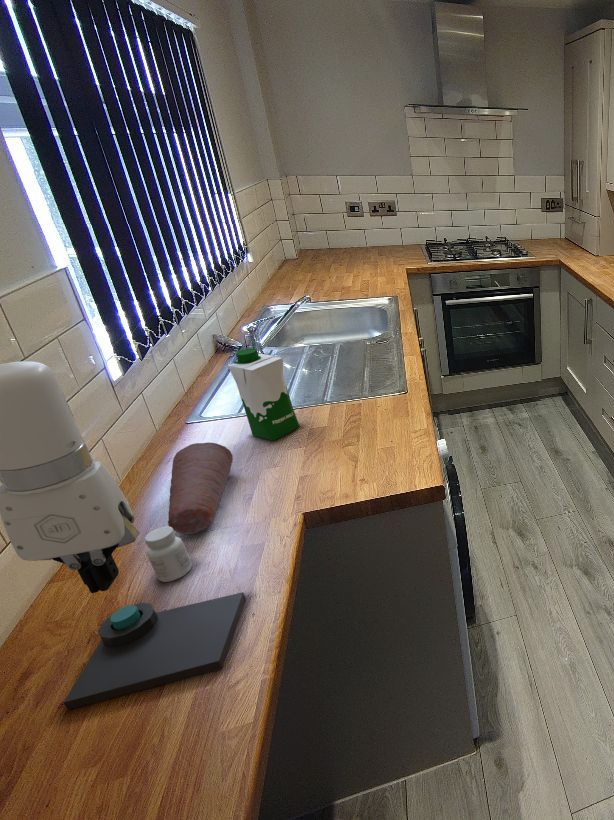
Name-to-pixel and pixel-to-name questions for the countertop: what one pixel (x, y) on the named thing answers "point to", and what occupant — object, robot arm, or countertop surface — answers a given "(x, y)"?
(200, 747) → the countertop surface
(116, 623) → the button
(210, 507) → the food
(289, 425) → the milk carton
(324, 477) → the countertop surface
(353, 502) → the countertop surface
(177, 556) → the pill bottle
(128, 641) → the scale
